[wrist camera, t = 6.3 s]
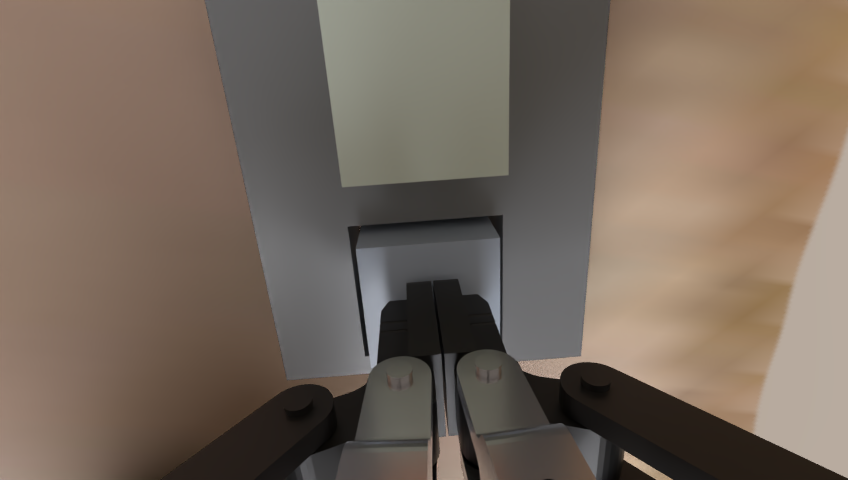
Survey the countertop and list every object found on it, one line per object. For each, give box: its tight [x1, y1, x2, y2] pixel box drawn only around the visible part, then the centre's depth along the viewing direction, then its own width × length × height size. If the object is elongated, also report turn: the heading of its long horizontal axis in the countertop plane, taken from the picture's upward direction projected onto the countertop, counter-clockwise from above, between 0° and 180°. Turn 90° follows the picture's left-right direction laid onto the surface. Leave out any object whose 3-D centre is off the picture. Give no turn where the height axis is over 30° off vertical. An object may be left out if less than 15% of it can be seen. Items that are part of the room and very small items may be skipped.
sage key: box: [317, 0, 510, 187], centre depth 11 cm, size 4×4×3 cm
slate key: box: [356, 216, 500, 368], centre depth 14 cm, size 4×4×3 cm
